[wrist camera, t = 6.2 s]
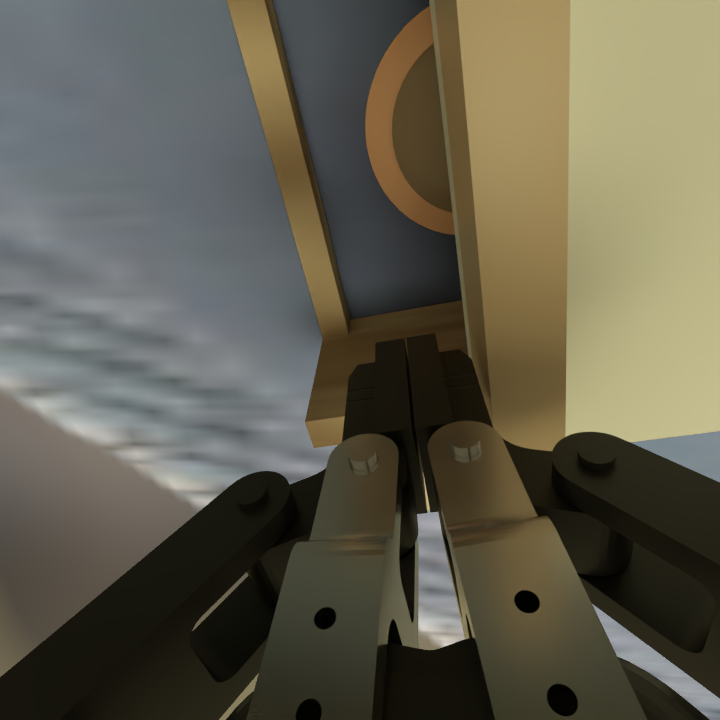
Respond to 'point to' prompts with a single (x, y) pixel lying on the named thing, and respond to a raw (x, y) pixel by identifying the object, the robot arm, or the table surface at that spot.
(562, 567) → the robot arm
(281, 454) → the table surface
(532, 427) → the lid
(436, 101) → the clay pot
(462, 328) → the open wooden frame
